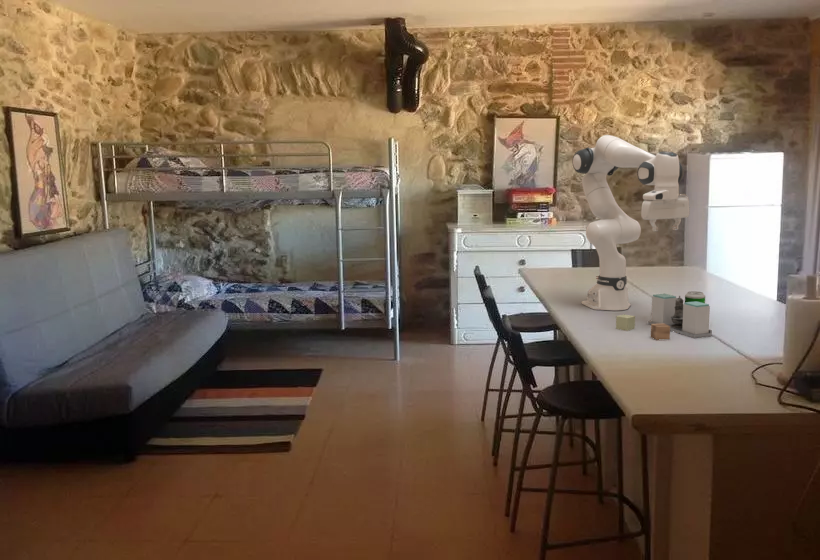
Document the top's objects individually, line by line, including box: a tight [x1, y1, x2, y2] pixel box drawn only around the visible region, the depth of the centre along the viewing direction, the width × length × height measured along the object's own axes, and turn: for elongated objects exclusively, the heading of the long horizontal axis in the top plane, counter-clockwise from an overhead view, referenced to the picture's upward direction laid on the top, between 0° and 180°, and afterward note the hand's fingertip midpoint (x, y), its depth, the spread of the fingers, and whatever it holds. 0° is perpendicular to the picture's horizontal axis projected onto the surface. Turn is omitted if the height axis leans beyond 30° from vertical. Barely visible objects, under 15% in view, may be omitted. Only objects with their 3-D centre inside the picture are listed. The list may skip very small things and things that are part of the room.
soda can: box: [684, 290, 706, 304], centre depth 299 cm, size 8×8×12 cm
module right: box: [682, 301, 711, 334], centre depth 278 cm, size 7×6×11 cm
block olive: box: [615, 314, 636, 332], centre depth 291 cm, size 5×5×5 cm
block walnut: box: [650, 323, 671, 341], centre depth 275 cm, size 5×5×5 cm
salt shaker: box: [671, 295, 684, 328], centre depth 287 cm, size 6×6×12 cm
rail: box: [647, 320, 713, 339], centre depth 288 cm, size 26×8×2 cm, turn 20°
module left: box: [650, 293, 677, 324], centre depth 295 cm, size 7×6×11 cm
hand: (665, 230), depth 291 cm, fingers open, 8 cm apart
